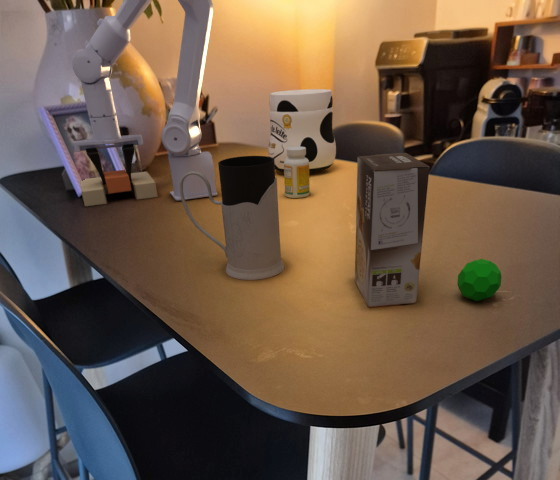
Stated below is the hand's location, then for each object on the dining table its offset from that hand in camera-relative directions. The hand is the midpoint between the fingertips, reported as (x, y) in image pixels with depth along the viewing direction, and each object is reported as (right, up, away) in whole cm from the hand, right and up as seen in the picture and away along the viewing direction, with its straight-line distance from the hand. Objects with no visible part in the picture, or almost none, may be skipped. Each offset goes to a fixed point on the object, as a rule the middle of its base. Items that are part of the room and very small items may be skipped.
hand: (117, 182), depth 117 cm
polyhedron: (+62, -34, -53) cm, 88 cm away
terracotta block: (0, -1, +1) cm, 1 cm away
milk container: (+43, +9, +17) cm, 47 cm away
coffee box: (+51, -33, -50) cm, 79 cm away
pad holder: (-1, -2, +4) cm, 4 cm away
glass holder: (+31, -28, -40) cm, 58 cm away
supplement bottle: (+41, -5, -5) cm, 42 cm away
